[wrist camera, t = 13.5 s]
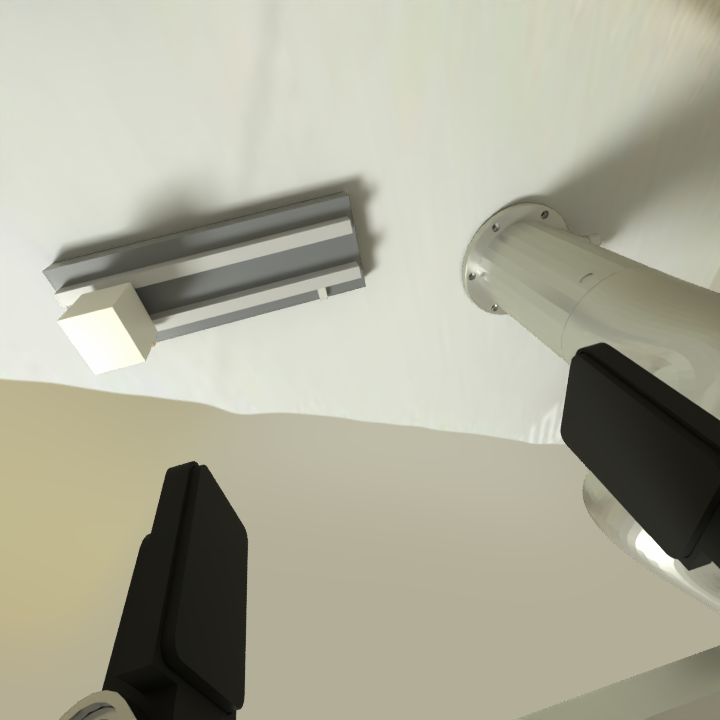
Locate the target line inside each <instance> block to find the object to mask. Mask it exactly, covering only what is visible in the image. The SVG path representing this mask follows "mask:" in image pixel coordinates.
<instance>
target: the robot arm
mask: <svg viewBox="0 0 720 720" xmlns="http://www.w3.org/2000/svg"><path fill="white" fill-rule="evenodd" d="M493 225H494V226H493ZM601 241H602V240H601V236H600V235H599V234H598V233H595V234H591V235H588V236H585V237H581V236H578V235H576V234H573V233H571V232H569V231H568V227H567V225H566V223H565V221H564V219H563V218H562V217H561V216H560V215H559V213H557V212H556V211H554V210H553V209H551V208H549V207H547V206H544V205H541V204H536V203H521V204H517V205H513V206H510V207H508V208H506V209H504V210H502V211H500V212H498V213H497V214H496V215H494V216H493V217H491V218H490V219H489V220H488V221H487V222H486V223H485V224H484V225H483V226H482V227H481V228H480V229H479V231H478V232H477V233H476V234H475V236H474V237H473V239H472V241H471V243H470V244H469V246H468V249H467V251H466V254H465V257H464V261H463V266H462V280H463V285H464V289H465V291H466V293H467V295H468V297H469V298H470V299H471V301H472V302H473V303H474V304H476V305H477V306H478V307H479V308H480V309H482V310H484V311H485V312H488V313H491V314H498V315H506V314H509V315H510V316H511V317H513V318H514V319H515V320H516V321H517V322H519V323H520V324H521V325H522V326H523V327H525V328H526V329H527V330H528V331H529V332H531V333H532V334H533V335H534V336H535V337H537V338H538V339H539V340H540V341H541V342H543V343H544V344H545V345H546V346H547V347H549V348H550V349H551V350H552V351H553V352H555V353H556V354H557V355H558V356H559V357H561V358H562V359H563V360H564V361H565V362H567V363H568V364H569V365H570V371H569V378H568V384H567V391H566V397H565V404H564V410H563V417H562V423H561V436H562V439H563V440H564V442H565V443H566V445H567V446H568V447H569V448H570V449H571V450H572V451H573V452H574V453H575V454H576V456H577V457H578V458H579V459H580V460H581V461H582V462H583V463H584V464H585V466H586V467H587V468H588V469H589V471H588V474H587V475H586V478H585V480H584V484H583V499H584V503H585V506H586V508H587V510H588V513H589V514H590V516H591V518H592V519H593V521H594V522H595V523H596V525H597V526H598V527H599V528H600V529H601V531H602V532H603V533H604V534H605V535H606V536H607V537H608V538H609V539H610V540H611V541H612V542H613V543H614V544H616V545H617V546H618V547H619V548H620V549H621V550H623V551H624V552H625V553H627V554H628V555H629V556H630V557H632V558H633V559H634V560H636V561H637V562H638V563H640V564H641V565H643V566H644V567H646V568H647V569H649V570H650V571H652V572H653V573H655V574H656V575H658V576H659V577H661V578H662V579H664V580H666V581H667V582H669V583H670V584H672V585H673V586H675V587H677V588H678V589H680V590H681V591H683V592H685V593H686V594H688V595H689V596H691V597H693V598H695V599H696V600H698V601H699V602H701V603H702V604H704V605H706V606H707V607H709V608H711V609H712V610H714V611H716V612H717V613H719V614H720V293H717V292H714V291H711V290H709V289H706V288H703V287H700V286H698V285H695V284H692V283H690V282H687V281H684V280H681V279H679V278H676V277H674V276H671V275H669V274H666V273H664V272H661V271H659V270H657V269H654V268H651V267H648V266H646V265H644V264H641V263H639V262H636V261H634V260H631V259H629V258H627V257H624V256H622V255H619V254H617V253H615V252H612V251H610V250H607V249H605V248H602V247H600V246H599V245H600V244H601ZM247 557H248V538H247V533H246V530H245V527H244V526H243V524H242V522H241V521H240V519H239V518H238V516H237V514H236V513H235V511H234V509H233V508H232V506H231V505H230V503H229V501H228V500H227V498H226V497H225V495H224V493H223V492H222V490H221V488H220V487H219V485H218V484H217V482H216V480H215V479H214V477H213V475H212V474H211V472H210V471H209V469H208V467H207V466H206V465H200V466H199V465H198V463H197V462H195V461H192V462H189V463H185V464H182V465H178V466H175V467H172V468H169V469H168V470H167V472H166V475H165V480H164V483H163V487H162V491H161V495H160V499H159V503H158V507H157V511H156V515H155V519H154V523H153V527H152V531H151V534H148V535H147V536H146V537H145V538H144V540H143V541H142V544H141V547H140V549H139V553H138V557H137V561H136V564H135V568H134V572H133V576H132V579H131V583H130V587H129V591H128V594H127V598H126V602H125V606H124V609H123V614H122V617H121V621H120V625H119V628H118V632H117V636H116V640H115V643H114V647H113V651H112V655H111V658H110V663H109V666H108V670H107V674H106V677H105V681H104V685H103V689H102V691H101V692H96V693H92V694H91V695H89V696H87V697H85V698H84V699H82V700H80V701H78V702H77V703H76V704H75V705H74V706H73V707H72V708H71V709H69V710H68V711H67V712H66V713H65V714H64V715H63V716H62V717H61V718H60V720H236V710H239V709H241V708H242V706H243V703H244V694H245V651H246V649H245V648H246V605H247V603H246V602H247ZM515 720H720V646H717V647H714V648H712V649H709V650H706V651H703V652H700V653H698V654H695V655H692V656H689V657H687V658H684V659H681V660H678V661H675V662H672V663H670V664H667V665H664V666H661V667H659V668H656V669H653V670H650V671H648V672H645V673H642V674H639V675H636V676H633V677H631V678H628V679H625V680H622V681H620V682H617V683H614V684H611V685H609V686H606V687H603V688H600V689H598V690H595V691H592V692H590V693H587V694H584V695H581V696H578V697H576V698H573V699H570V700H567V701H564V702H562V703H559V704H556V705H553V706H551V707H548V708H545V709H543V710H540V711H537V712H534V713H532V714H529V715H526V716H523V717H521V718H518V719H515Z"/></svg>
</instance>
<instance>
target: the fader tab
mask: <svg viewBox="0 0 720 720" xmlns="http://www.w3.org/2000/svg"><path fill="white" fill-rule="evenodd" d="M57 322H58V323H59V325H60V326H61V327H62V329H63V330H64V331H65V333H66V334H67V336H68V337H69V338H70V340H71V341H72V343H73V344H74V345H75V347H76V348H77V350H78V351H79V352H80V354H81V355H82V357H83V358H84V359H85V361H86V362H87V363H88V365H89V366H90V368H91V369H92V370H93V372H94V373H95V375H96V374H100V373H103V372H107V371H111V370H115V369H118V368H122V367H126V366H129V365H133V364H137V363H141V362H144V361H146V359H147V356H148V354H149V352H150V350H151V347H152V345H153V343H154V340H155V338H156V336H157V334H158V331H157V329H156V327H155V325H154V324H153V322H152V320H151V318H150V317H149V315H148V313H147V311H146V309H145V307H144V305H143V304H142V302H141V300H140V298H139V296H138V295H137V293H136V291H135V289H134V288H133V286H132V284H131V283H130V282H128V283H124V284H120V285H116V286H112V287H108V288H104V289H100V290H96V291H93V292H89V293H85V294H82V295H81V296H80V297H79V298H78V299H77V300H76V301H75V302H74V303H73V304H72V306H71V307H70V308H69V309H68V310H67V311H66V312H65V313H64V314H63V315H62V316H61V317H60V318H59V320H58V321H57Z"/></svg>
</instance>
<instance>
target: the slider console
mask: <svg viewBox="0 0 720 720" xmlns="http://www.w3.org/2000/svg"><path fill="white" fill-rule="evenodd" d="M42 272H43V273H44V275H45V276H46V278H47V279H48V281H49V282H50V283H51V285H52V286H53V288H54V289H55V291H56V293H55V294H54V297H55V298H56V300H57V301H58V302H59V304H60V305H61V307H67V308H68V309H69V308H70V307H71V306H72V304H73V303H74V302H75V301H76V300H77V299H78V298H79V297H80V296H81V295H82V294H85V293H89V292H93V291H96V290H100V289H104V288H108V287H112V286H116V285H120V284H124V283H128V282H130V283H131V284H132V286H133V288H134V289H135V291H136V293H137V295H138V296H139V298H140V300H141V302H142V304H143V305H144V307H145V309H146V311H147V313H148V315H149V317H150V318H151V320H152V322H153V324H154V325H155V327H156V329H157V331H158V334H157V336H156V338H155V340H154V343H153V345H152V347H154V346H155V344H156V342H160V341H163V340H167V339H171V338H175V337H178V336H182V335H186V334H190V333H193V332H197V331H201V330H205V329H208V328H212V327H216V326H220V325H223V324H227V323H231V322H235V321H238V320H242V319H246V318H250V317H253V316H257V315H261V314H265V313H268V312H272V311H276V310H280V309H283V308H287V307H291V306H295V305H298V304H302V303H306V302H310V301H313V300H317V299H320V300H323V299H327V298H328V296H332V295H336V294H340V293H343V292H347V291H351V290H355V289H358V288H362V287H366V285H365V280H364V274H363V269H362V264H361V258H360V253H359V248H358V243H357V237H356V232H355V227H354V222H353V216H352V211H351V206H350V201H349V196H348V195H347V194H346V193H345V192H341V193H337V194H333V195H329V196H325V197H320V198H316V199H312V200H308V201H304V202H300V203H296V204H292V205H288V206H284V207H280V208H276V209H272V210H268V211H264V212H260V213H256V214H252V215H248V216H243V217H239V218H235V219H231V220H227V221H223V222H219V223H215V224H211V225H207V226H203V227H199V228H195V229H191V230H187V231H183V232H179V233H175V234H170V235H166V236H162V237H158V238H154V239H150V240H146V241H142V242H138V243H134V244H130V245H126V246H122V247H118V248H114V249H110V250H106V251H102V252H98V253H93V254H89V255H85V256H81V257H77V258H73V259H69V260H65V261H61V262H57V263H53V264H51V265H50V266H49V267H47V268H46V269H45V270H43V271H42Z"/></svg>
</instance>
